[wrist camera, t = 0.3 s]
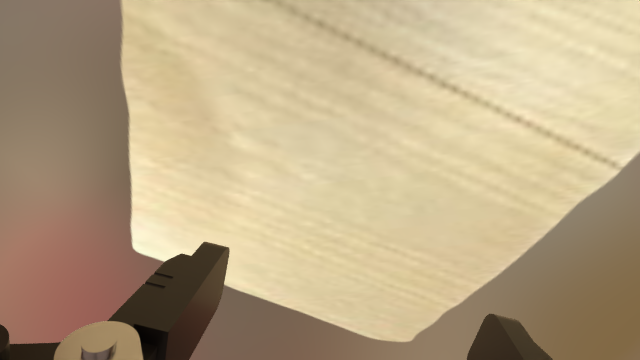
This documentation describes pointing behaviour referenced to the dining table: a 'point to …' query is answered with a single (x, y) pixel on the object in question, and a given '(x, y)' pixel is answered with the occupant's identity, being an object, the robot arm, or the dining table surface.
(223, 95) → the dining table surface
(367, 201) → the dining table surface
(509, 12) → the dining table surface
